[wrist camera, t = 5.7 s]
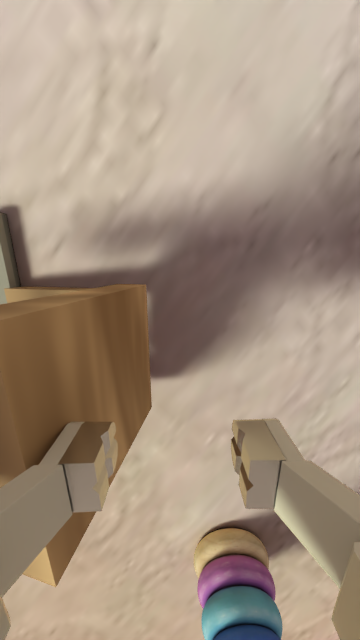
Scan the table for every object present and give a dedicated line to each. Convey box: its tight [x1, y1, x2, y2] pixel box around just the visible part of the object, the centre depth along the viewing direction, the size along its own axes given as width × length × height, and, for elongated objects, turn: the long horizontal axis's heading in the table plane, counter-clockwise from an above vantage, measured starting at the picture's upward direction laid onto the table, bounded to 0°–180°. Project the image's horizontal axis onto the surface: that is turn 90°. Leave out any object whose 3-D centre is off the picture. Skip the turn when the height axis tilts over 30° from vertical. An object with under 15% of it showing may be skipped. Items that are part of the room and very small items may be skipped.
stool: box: [0, 284, 152, 587], centre depth 11 cm, size 10×9×9 cm
